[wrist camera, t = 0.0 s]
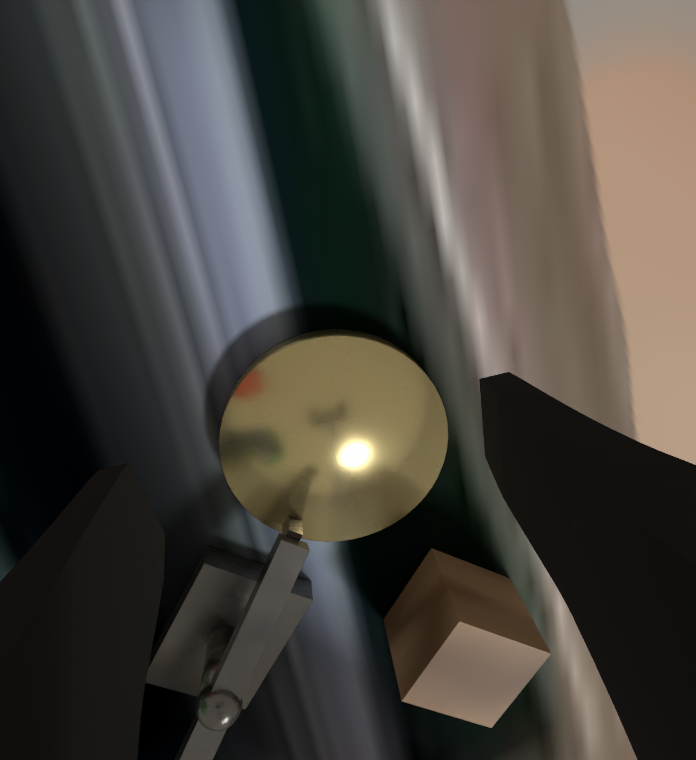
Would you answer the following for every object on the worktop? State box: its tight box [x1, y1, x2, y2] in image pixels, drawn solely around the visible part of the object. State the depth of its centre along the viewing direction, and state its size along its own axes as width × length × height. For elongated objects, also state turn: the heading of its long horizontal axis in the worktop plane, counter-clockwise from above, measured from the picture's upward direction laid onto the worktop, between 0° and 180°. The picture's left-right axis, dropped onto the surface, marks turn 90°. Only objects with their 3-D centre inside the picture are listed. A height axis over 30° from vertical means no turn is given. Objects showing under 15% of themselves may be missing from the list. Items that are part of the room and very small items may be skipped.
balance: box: [146, 329, 448, 760], centre depth 23 cm, size 30×9×7 cm, turn 152°
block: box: [384, 548, 551, 728], centre depth 25 cm, size 4×4×4 cm
